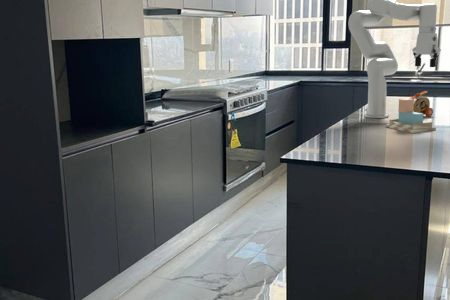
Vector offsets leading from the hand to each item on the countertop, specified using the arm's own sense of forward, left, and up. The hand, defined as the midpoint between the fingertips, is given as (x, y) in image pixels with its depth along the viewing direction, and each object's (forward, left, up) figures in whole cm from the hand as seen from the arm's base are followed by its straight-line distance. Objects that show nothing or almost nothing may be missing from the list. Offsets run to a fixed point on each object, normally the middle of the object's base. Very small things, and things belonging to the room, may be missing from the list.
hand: (425, 66), depth 241 cm
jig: (+6, -13, -28) cm, 32 cm away
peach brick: (+2, -13, -21) cm, 24 cm away
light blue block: (+6, -13, -27) cm, 31 cm away
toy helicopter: (-17, +12, -28) cm, 35 cm away
